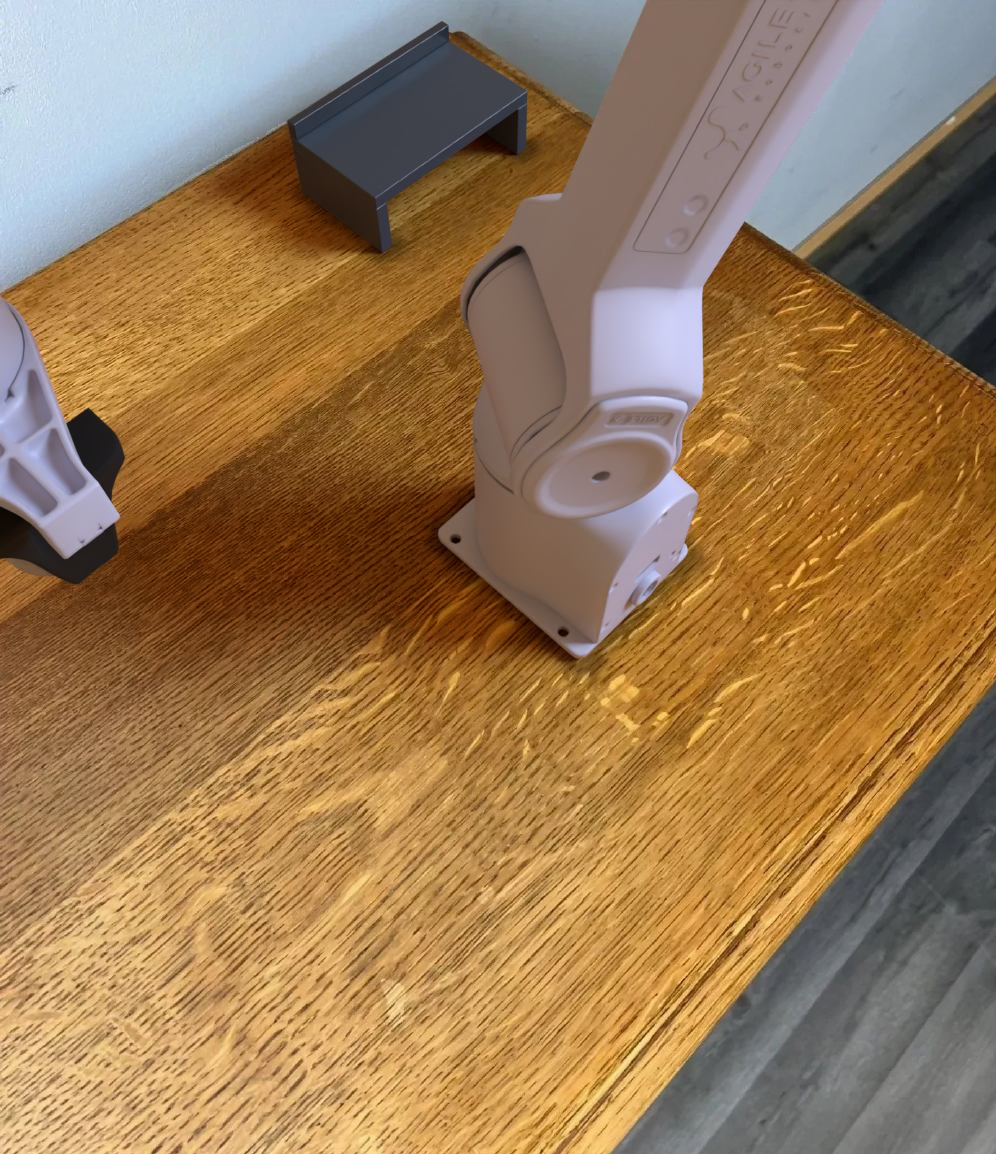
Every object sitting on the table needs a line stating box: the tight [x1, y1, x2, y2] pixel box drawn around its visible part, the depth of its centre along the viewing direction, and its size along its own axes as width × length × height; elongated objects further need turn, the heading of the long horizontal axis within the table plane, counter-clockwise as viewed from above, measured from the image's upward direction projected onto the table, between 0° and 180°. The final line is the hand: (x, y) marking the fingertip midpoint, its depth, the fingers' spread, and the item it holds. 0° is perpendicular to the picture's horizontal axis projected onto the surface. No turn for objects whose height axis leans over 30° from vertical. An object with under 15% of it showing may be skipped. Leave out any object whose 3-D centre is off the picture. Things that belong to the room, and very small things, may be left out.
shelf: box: [286, 20, 528, 254], centre depth 58 cm, size 7×12×5 cm, turn 136°
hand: (48, 518), depth 38 cm, fingers closed on fossil, 5 cm apart
